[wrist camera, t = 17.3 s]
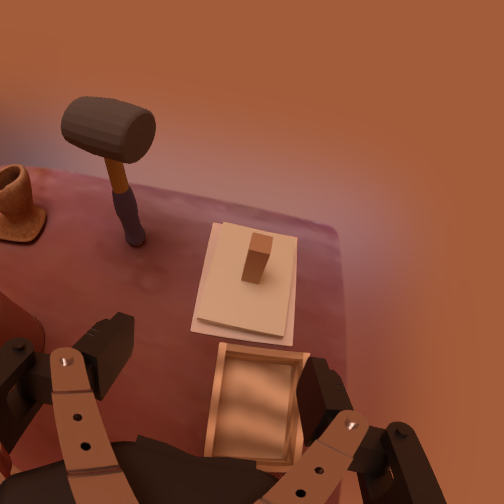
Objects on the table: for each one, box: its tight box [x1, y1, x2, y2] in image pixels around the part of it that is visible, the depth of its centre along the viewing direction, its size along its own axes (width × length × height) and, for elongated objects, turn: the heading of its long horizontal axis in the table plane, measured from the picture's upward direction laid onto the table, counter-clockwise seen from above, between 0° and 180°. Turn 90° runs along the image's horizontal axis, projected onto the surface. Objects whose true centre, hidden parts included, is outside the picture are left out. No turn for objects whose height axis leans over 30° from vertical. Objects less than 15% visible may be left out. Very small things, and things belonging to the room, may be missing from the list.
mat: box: [190, 223, 297, 347], centre depth 51 cm, size 22×17×1 cm
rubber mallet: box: [61, 96, 156, 246], centre depth 39 cm, size 12×8×30 cm, turn 67°
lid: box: [197, 222, 296, 338], centre depth 45 cm, size 19×14×12 cm
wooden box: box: [203, 342, 310, 472], centre depth 37 cm, size 18×13×7 cm
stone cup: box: [0, 164, 46, 242], centre depth 43 cm, size 15×12×15 cm
